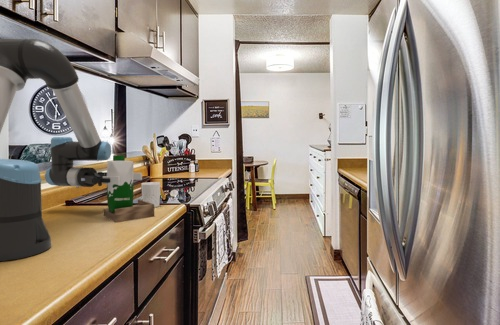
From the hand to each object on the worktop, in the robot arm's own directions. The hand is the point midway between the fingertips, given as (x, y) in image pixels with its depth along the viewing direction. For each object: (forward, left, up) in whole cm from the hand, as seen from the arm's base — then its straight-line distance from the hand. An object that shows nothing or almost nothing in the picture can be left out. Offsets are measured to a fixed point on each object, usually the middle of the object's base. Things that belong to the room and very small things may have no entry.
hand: (131, 178), depth 120 cm
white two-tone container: (-4, 0, -12) cm, 12 cm away
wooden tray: (-1, +1, -14) cm, 14 cm away
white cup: (+13, +13, -14) cm, 24 cm away
